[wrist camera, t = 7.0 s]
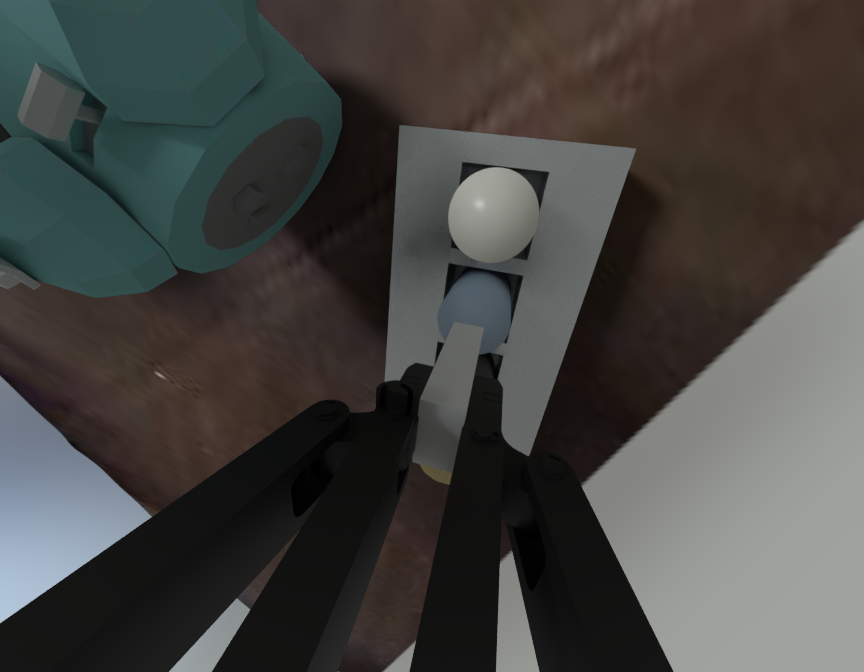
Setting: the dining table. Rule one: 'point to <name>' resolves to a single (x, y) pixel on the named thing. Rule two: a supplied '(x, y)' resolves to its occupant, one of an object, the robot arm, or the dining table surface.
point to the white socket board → (526, 272)
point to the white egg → (493, 215)
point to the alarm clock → (150, 139)
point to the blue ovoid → (479, 306)
